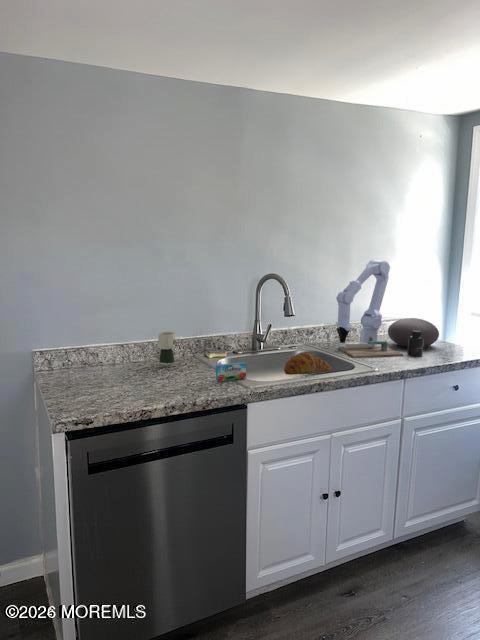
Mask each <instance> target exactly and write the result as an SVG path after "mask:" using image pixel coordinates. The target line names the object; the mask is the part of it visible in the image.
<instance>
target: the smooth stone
mask: <svg viewBox="0 0 480 640" xmlns="http://www.w3.org/2000/svg"><path fill="white" fill-rule="evenodd" d="M412 330H418V331H422V337H423V338H424V345H423V348H425V347H428V346H429V347H430V346H431V345H433V344H435V343H436V342H437V341H438V340H439V337H440V332H439V330H438V328H437V326H436V325H434V324H433V323H432V322H430V321H428V320H425V319H422V318H416V317H407V318H402V319H398V320H396V321H394V322H392V323H391V324H390V325H389V327H388V328H387V334H388V335H387V336H388V338H389V339H390V340H391V341H393V342H394V343H395V344H396V345H399V346H402V347H404V348H408V340H409V337H410V336H412V335H411V332H412Z"/></svg>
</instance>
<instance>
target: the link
mask: <svg viewBox="0 0 480 640" xmlns="http://www.w3.org/2000/svg"><path fill="white" fill-rule="evenodd" d="M369 341H372V337H369ZM343 347H344V348H345V349H358V348H374V345H370V344H368V342H364V343H358V342H345V343H343Z"/></svg>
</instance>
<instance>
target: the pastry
mask: <svg viewBox="0 0 480 640" xmlns="http://www.w3.org/2000/svg"><path fill="white" fill-rule="evenodd" d="M283 371H284V373H285V374H286V375H289V376H290V375H306V374H307V375H309V374H315V373H316V374H319V373H328V372H332V371H333V367H332V366H331V365H330V364H329V363H328V362H327V361H325V360H323V359H321V358H320V357H317V356H315V355H314V354H311V353H308V352H306V351H303V352H299V353H297V354H295V355H293V356H292V357H290V359H289V360H288V361H286V363H285V365H284V368H283Z"/></svg>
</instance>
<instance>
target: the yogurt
mask: <svg viewBox="0 0 480 640" xmlns="http://www.w3.org/2000/svg"><path fill="white" fill-rule="evenodd" d="M241 378H243V379H241ZM235 379H239V380H245V379H247V363H246V362H243V361H242V362H233V363H222V364H215V381H216V382H217V383H220V382H229V381H236V380H235Z"/></svg>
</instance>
